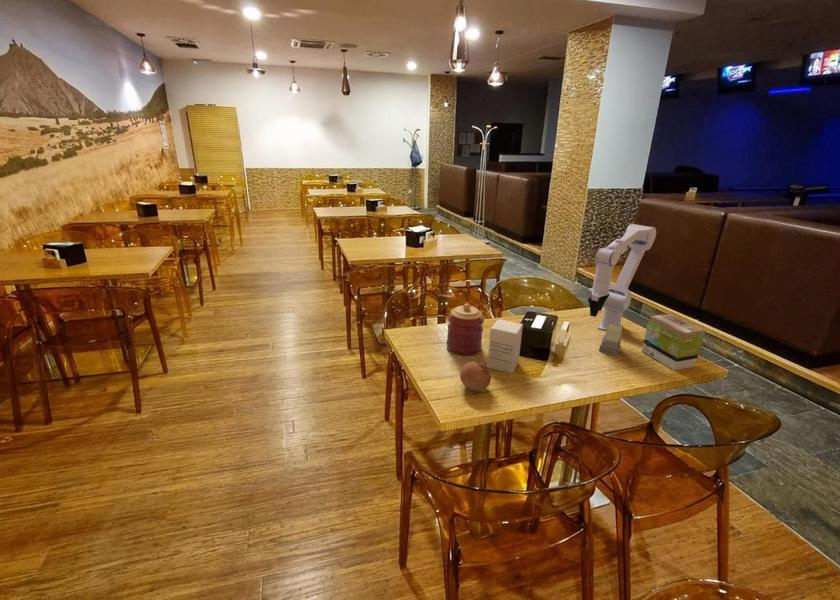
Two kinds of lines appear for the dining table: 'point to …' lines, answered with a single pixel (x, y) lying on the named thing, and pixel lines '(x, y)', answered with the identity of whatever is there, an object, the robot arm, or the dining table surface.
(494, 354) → the supplement box
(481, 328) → the canister
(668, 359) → the tea box
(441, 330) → the dining table surface
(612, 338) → the sage block
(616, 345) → the slab top
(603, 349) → the slab bottom
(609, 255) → the robot arm
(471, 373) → the onion
